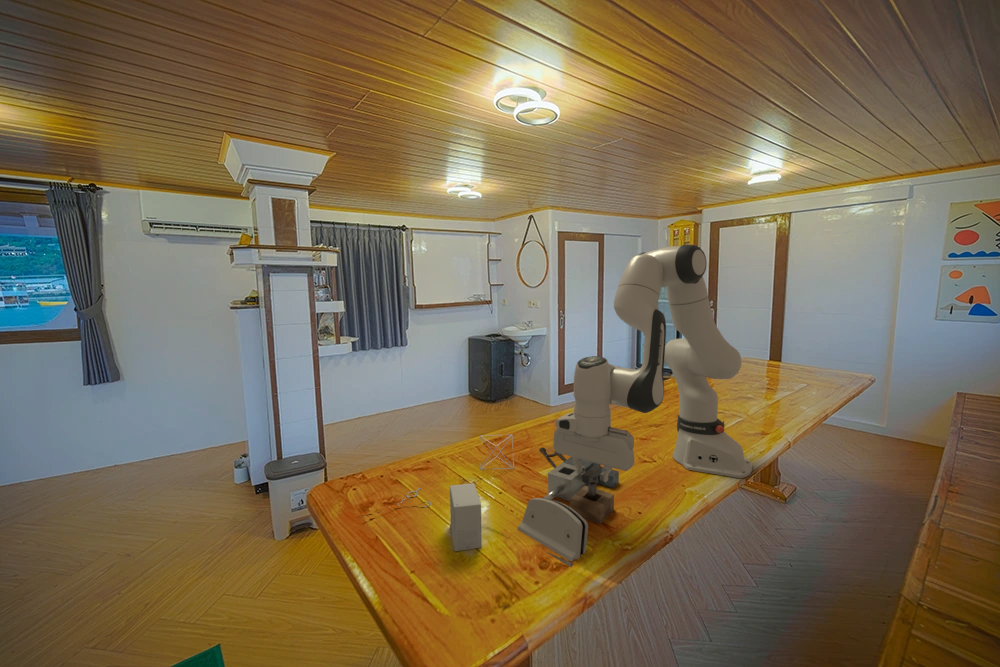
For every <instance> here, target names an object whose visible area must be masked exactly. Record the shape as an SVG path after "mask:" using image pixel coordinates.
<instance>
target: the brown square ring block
mask: <svg viewBox="0 0 1000 667" xmlns="http://www.w3.org/2000/svg"><path fill="white" fill-rule="evenodd" d="M569 507H570V508H572V509H573V510H574V511H576V512H577V513H578V514H579V515H580V516H581V517H583V518H584V520H585V521H590V522H593V523H595V524H598V525H602V523H603V522H604V521H605V520H606V519H607V518H608V517H609V516H610V515H611V513H613V511H614V510H615V494H614V493H611V492H607V491H603V490H601V489H599V488H596V502H595V501H592V500H589V499H588V486H584V487H583V488H582V489H580V490H579V491H578V492H577V493H576V494H575V495H574V496H572V497H571V498H570V501H569Z"/></svg>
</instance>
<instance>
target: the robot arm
mask: <svg viewBox="0 0 1000 667" xmlns="http://www.w3.org/2000/svg"><path fill="white" fill-rule="evenodd" d="M706 270H707V257H706V254H705V251H703V249H702V248H700V247H699V246H698V245H697V244H682V245H672V246H665V247H660V248H659V249H653V250H651V251H647V252H641V253H639V254H637V255H635V256H632V258H631V259H630V260H629V262H627V264H626V267H625V269H624V271H623V272H622V274H621V277H620V280H619V282H618V286H617V289H616V293H615V295H614V300H613V308H614V311H615V313H616V316H617V317H618V318H619V319H620V320H621V321H622V322H623V323H625V324H627V325H628V326H630V327H631V328H633V329H635V330H637V331H639V332H641V333H642V334H643V336H644V342H643V354H642V364H641V366H640V367H639V368H638V369H637V368H636V369H635V368H628V367H621V366H616V365H613V364H610V363H609V361H608V359H607V358H606V357H603V356H600V355H599V356H598V355H596V356H595V355H592V356H587V357H586V356H585V357H583V358H581V359H579V360H578V361H577V362H576V364H575V368H574V373H573V374H574V375H573V397H574V401H575V402H574V403H575V404H574V407H573V412H569V413H566V414H564V415H562V416H560V417H559V418H556V419H555V427H556V428H555V430H554V432H553V449H554V451H556V452H557V453H560V454H562V455H564V456H568V457H572V461H573V463H574V465H575V466H576V468H577V474H579V475H583V474H584V473H585V467H584V466H582V464H581V462H580V459H582V460H586V461H590V462H593V463H597V464H601V466H603V467H604V469H606V471H605V472H602V473H601V474H600V481H603V482H607V481H608V474H609V472H610V471H611V469H612V470H613V469H616V470H621V471H624V472H628V471H630V469H632V468H633V466H634V465H635V453H634V448H635V447H634V446H635V445H634V444H635V439H634V436H633V435H632V434H631V433H630V432H629V431H628V430H626V429H619V428H616V427H612V426H611V425H612V423H611V422H612V421H611V420H612V419H611V416H612V415H611V412H612V411H611V407H610V404H612V405H615V406H619V407H623V408H627V409H630V410H634V411H637V412H640V413H643V414H648V413H650V412H652V411H654V410H655V409H657V408H658V407H660V406H661V404H662V403H663V400H664V395H665V383H664V381H665V380H664V366H665V364H666V365H667V366H668V367H669V368H670V370H671V372H672V374H673V376H674V379H675V382H676V385H677V389H678V399H679V400H678V410H679V411H678V415H677V418H676V431H677V435H676V436H677V437H676V443H675V448H674V450H673V453H672V458H673V459H674V460H675V461H676V463H679V464H681V465H682V466H683V467H684V468H685V470H690V471H693V472H694V471H695V472H702V473H706V474H712V475H719V476H724V475H725V476H726V477H730V478H736V479H743V478H746V477H748V476H750V475H751V473H752V471H753V463H752V462H751V461H750V459H748V458H745V455H744V450H743V447H742V445H741V444H740V443H739V442H738V441H736V440H735V439H734V438H732V437H731V436H730V435H729V434H727V432H726V431H725V420H723V421H721V420H720V419H719V418H718V409H719V408H718V407H719V406H718V404H719V397H718V394H717V391H716V390H715V389H714V388H713V387H712V386H711V385H710V383H709V381H708V379H712V380H730V379H733V378H734V377H735V376H737V374H738V373H739V372H740V370H741V368H742V356H741V353H740V352H739V351H738V350H737V349H736V348H735V347H734V346H733V345H732V344H730V343H729V342H728V341H727V340H726V338H725V337H724V335H723V334H722V333H721V332H720V330H719V328H718V327H717V325H716V322H715V319H714V316H713V313H712V308H711V304H710V300H709V294H708V289H707V285H706V282H705V278H704V275H705V273H706ZM662 288H666V294H667V300H668V305H669V309H670V314H671V320H672V324H673V326H674V328H675V329H676V331H678V332H679V333H680V334H681V335H682V336H683V337H684V338H683V337H682V338H674V339H671V340H669V341H668V342H667V343H666V341H667V324H666V323H667V322H666V316H665V314H664V313H663V312H662V311H660V309H659V299H660V295H661V291H662Z"/></svg>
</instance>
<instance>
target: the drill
mask: <svg viewBox="0 0 1000 667" xmlns="http://www.w3.org/2000/svg"><path fill="white" fill-rule="evenodd" d="M580 462H581V464H582V466H584V467H585V472H587V471H588V470H589V469H590V468H591V467H593V466H594V465H599V466H602V465H601V464H597V463H593V462H590V461H586V460H582V459H580ZM556 466H557V465H556ZM605 471H606V469H604V466H602V472H605ZM619 472H620V471H619V470H617V469H616V470H615V469H613V468H612V469H611V471H610V472H609V474H608V481H607V482H603V481H600V475H599V476H598V483H596V485H599V486H603V487H606V488H610V489H615V487H616V486H617V485H618V484H619V482H620V480H619V479H620V476H619V475H620V474H619ZM547 485H548V486H547V490H548V491H547V494H545V495H544V497H542V498H546V499H551V500H554V498H555V497H556V498H558V499H561V500H565V501H567V502H570V498H571V497H572V496H574V495H575V494H576V493H577V492H578V491H579V490H580V489H582V488H583V487H584V486H588V483H584V482H582V475H579V474H577V468H576V466H575V465H574V463H573V461H572V457H571V456H569V458H566V461H563V462H561V463H560V464H559V465H558V466H557V467H556V468H553V469H551V471H548V473H547Z"/></svg>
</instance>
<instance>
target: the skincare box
mask: <svg viewBox="0 0 1000 667" xmlns="http://www.w3.org/2000/svg"><path fill="white" fill-rule="evenodd" d="M449 505H450V506H449V508H450V513H449V514H450V531H451V533H450V534H451V538H452V544H453V549H454V552H458V551H465V550H473V549H479V548H482V547H483V545H482V542H483V541H482V504H481V499H480V497H479V494H478V490H477V488H476V485H475V483H473V482H472V483H464V484H462V483H461V484H453V485H449Z"/></svg>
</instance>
